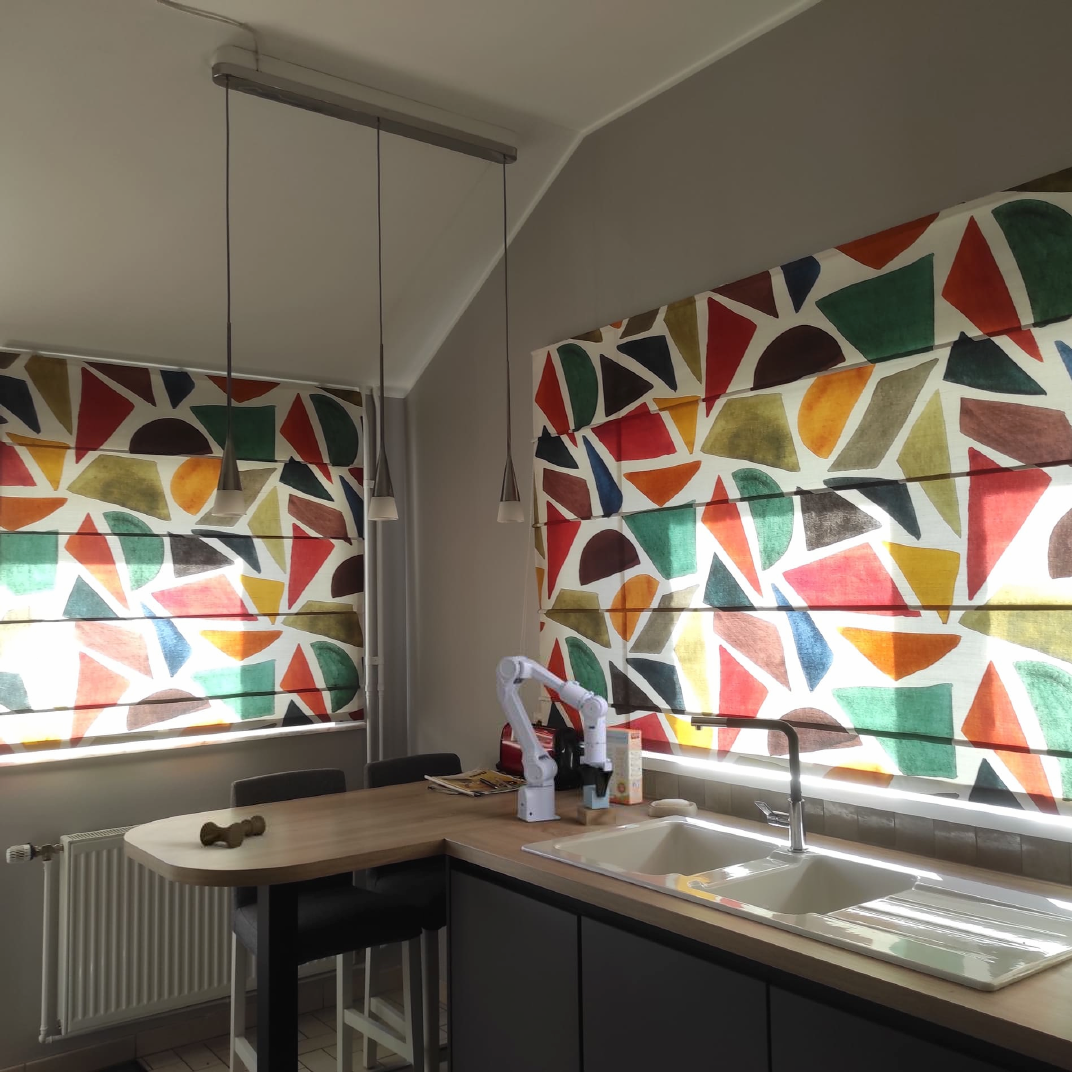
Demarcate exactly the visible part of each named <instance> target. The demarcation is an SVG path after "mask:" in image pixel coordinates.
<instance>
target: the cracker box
mask: <svg viewBox="0 0 1072 1072" xmlns="http://www.w3.org/2000/svg"><path fill="white" fill-rule="evenodd" d="M642 743H643V742H642V730H640V729H631V728H630V729H629V728H621V727H613V726H606V758H608V759H610V763H612V770H613V774H612V776H611V778H610V780H609V783H608V788H609V803H610V802H611V803H617V804H622V805H627V806H631V805H637V804H642V803H643V802H644V801H643V755H642V750H643V749H642V748H643V747H642V745H643V744H642Z"/></svg>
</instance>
